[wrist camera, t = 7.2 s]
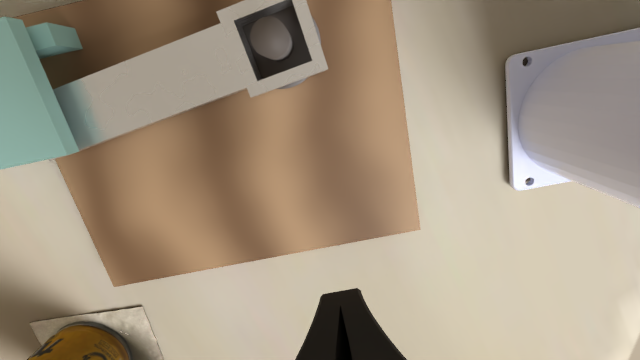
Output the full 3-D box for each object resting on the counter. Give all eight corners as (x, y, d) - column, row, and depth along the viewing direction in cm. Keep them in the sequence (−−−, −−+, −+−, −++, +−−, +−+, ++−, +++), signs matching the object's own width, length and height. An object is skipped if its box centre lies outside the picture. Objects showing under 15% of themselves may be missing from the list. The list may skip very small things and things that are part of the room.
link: (301, -12, 16) (299, -22, 14) (327, 70, 17) (328, 68, 15) (36, 93, 17) (8, 94, 16) (76, 162, 18) (54, 169, 17)
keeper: (89, 29, 18) (16, 13, 13) (130, 136, 20) (77, 153, 15) (-10, 53, 18) (-113, 45, 14) (39, 156, 20) (-39, 177, 16)
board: (377, -62, 17) (397, -112, 12) (414, 221, 21) (439, 257, 17) (13, 26, 18) (-85, 9, 13) (124, 276, 22) (78, 323, 18)
